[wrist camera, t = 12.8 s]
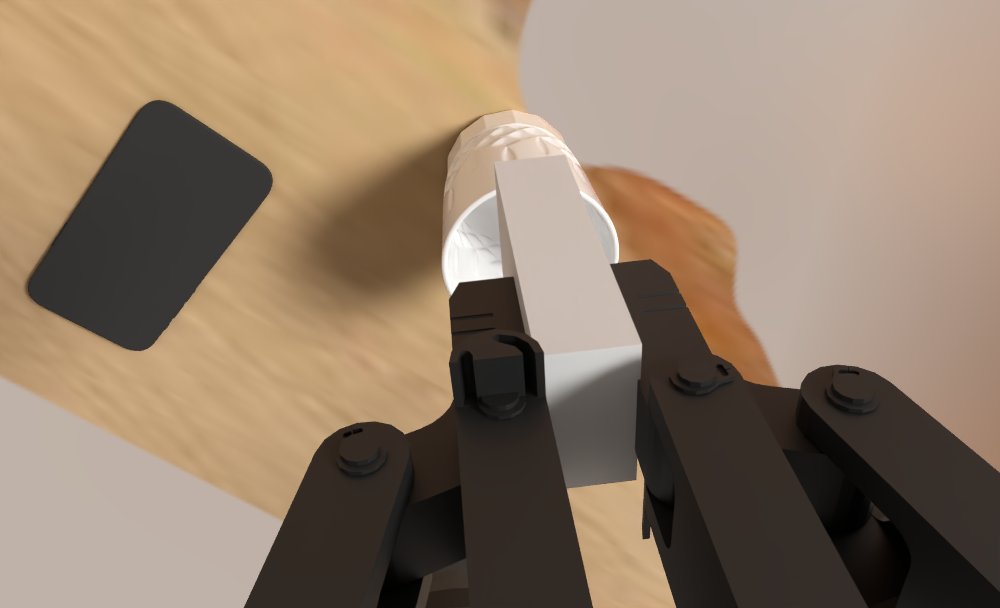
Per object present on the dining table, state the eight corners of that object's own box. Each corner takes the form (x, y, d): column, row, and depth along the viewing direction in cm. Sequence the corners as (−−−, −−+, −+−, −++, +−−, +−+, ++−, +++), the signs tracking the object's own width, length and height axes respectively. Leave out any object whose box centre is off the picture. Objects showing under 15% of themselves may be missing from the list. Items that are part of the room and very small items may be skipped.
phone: (281, 179, 41) (144, 358, 47) (283, 172, 42) (147, 350, 47) (150, 92, 38) (18, 295, 44) (154, 86, 39) (24, 287, 44)
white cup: (421, 216, 44) (424, 319, 36) (455, 82, 40) (466, 163, 31) (554, 242, 45) (585, 346, 37) (599, 116, 41) (645, 202, 33)
